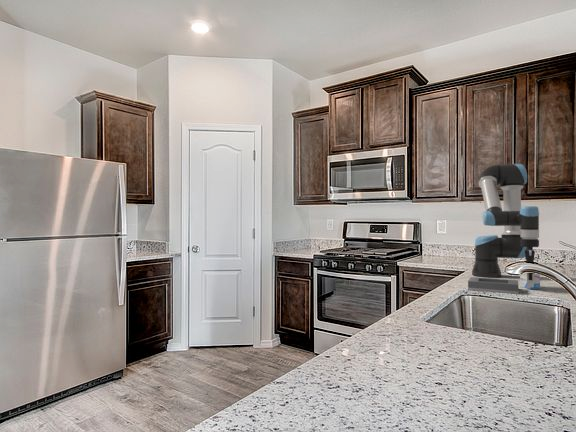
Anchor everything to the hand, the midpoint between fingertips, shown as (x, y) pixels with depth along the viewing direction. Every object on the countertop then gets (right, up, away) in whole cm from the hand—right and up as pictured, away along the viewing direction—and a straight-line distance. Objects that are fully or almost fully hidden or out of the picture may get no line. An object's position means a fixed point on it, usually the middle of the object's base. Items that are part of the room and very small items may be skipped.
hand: (529, 285), depth 179 cm
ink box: (0, -1, 0) cm, 1 cm away
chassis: (-20, -1, -4) cm, 20 cm away
